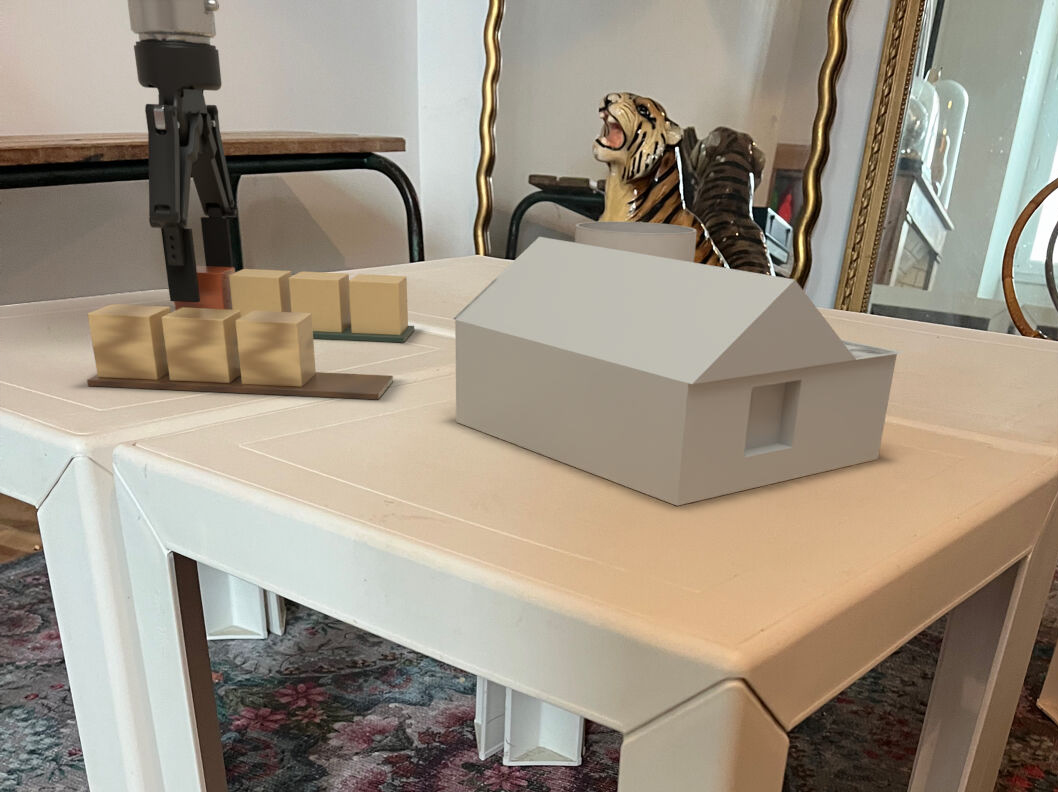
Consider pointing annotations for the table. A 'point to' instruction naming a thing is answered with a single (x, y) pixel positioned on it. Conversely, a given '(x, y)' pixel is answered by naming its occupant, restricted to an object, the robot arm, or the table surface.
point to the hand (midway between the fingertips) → (204, 292)
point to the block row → (329, 302)
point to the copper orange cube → (212, 289)
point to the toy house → (666, 372)
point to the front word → (216, 353)
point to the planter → (640, 238)
